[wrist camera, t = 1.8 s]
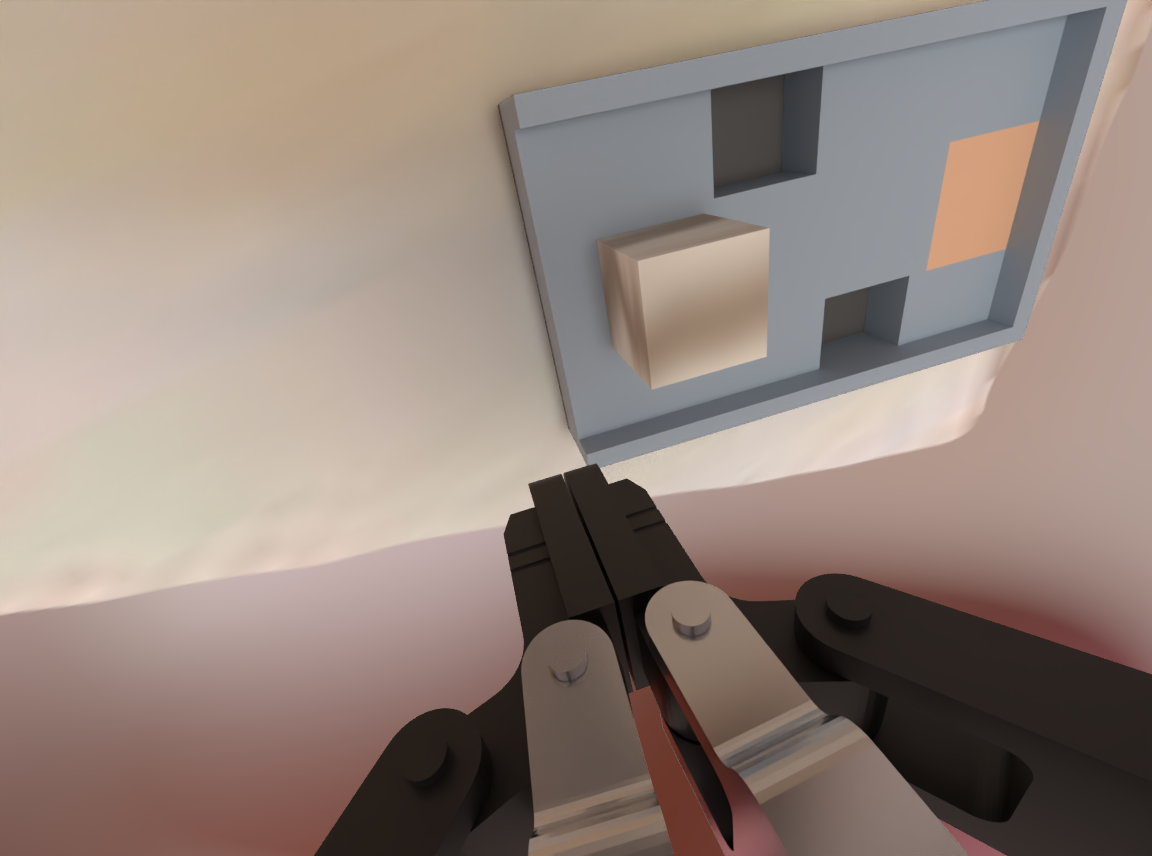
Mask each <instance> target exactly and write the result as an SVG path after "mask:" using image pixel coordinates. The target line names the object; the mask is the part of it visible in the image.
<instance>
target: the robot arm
mask: <svg viewBox="0 0 1152 856" xmlns="http://www.w3.org/2000/svg"><path fill="white" fill-rule="evenodd" d="M564 480H565V481H564ZM528 485H529V488H530V492H531V495H532V499H533V502H534V506H535V507H534V508H531V509H527V510H524V511H521V512H518V513H514V514H511V515H510V517H509V520H508V523H507V526H506V529H505V532H504V539H505V544H506V549H507V554H508V559H509V565H510V570H511V573H512V574H511V575H512V580H513V585H514V590H515V595H516V601H517V606H518V611H519V616H520V621H521V626H522V632H523V638H524V651H523V656H522V659H521V662H520V664H519V667H518V669H517V670H516V672H515V674H514V676H513V677H512V678H511V680H510V681H509V682H508V683H507V684H506V685H505V686H504V688H503V689H502V690H500V691H499V692H498V693H497V694H496V695H494V696H493V697H492V698H490V699H489V700H488V701H487V702H485V703H484V704H482V705H481V706H479V707H478V708H477V709H475V710H474V711H473V712H471V713H470V714H468V715H466V714H465V713H463V712H461V711H459V710H455V709H448V708H442V709H435V710H432V711H429V712H426V713H424V714H422V715H420V716H418V717H416V718H415V719H413V720H412V721H410V722H409V723H408V724H406V725H405V726H404V727H403V728H402V729H401V730H400V731H399V732H398V733H397V734H396V735H395V736H394V738H393V739H392V740H391V742H390V743H389V744H388V746H387V747H386V749H385V750H384V752H383V753H382V755H381V756H380V758H379V759H378V761H377V762H376V764H375V765H374V767H373V768H372V770H371V771H370V773H369V774H368V776H367V777H366V779H365V780H364V782H363V783H362V785H361V786H360V788H359V789H358V791H357V792H356V794H355V795H354V797H353V798H352V800H351V801H350V803H349V804H348V806H347V807H346V809H345V810H344V812H343V813H342V815H341V816H340V818H339V819H338V821H337V822H336V824H335V825H334V827H333V828H332V830H331V831H330V833H329V834H328V836H327V837H326V839H325V840H324V842H323V843H322V845H321V846H320V848H319V849H318V851H317V852H316V854H315V855H314V856H674V854H673V850H672V847H671V843H670V839H669V836H668V832H667V829H666V825H665V822H664V819H663V815H662V812H661V809H660V806H659V803H658V800H657V797H656V795H655V792H654V789H653V786H652V782H651V779H650V775H649V772H648V768H647V765H646V761H645V757H644V754H643V751H642V747H641V744H640V740H639V736H638V733H637V729H636V725H635V721H634V716H633V712H632V707H631V703H630V698H629V693H631V692H633V690H632V684H631V680H630V675H631V677H632V680H633V682H634V685H635V687H636V690H638V689H641V688H644V687H646V686H649V685H650V687H651V690H652V692H653V694H654V697H655V699H656V702H657V704H658V706H659V709H660V714H661V720H662V725H663V729H664V731H665V734H666V736H667V738H668V740H669V742H670V744H671V746H672V748H673V750H674V752H675V754H676V756H677V758H678V760H679V762H680V765H681V767H682V769H683V771H684V772H685V774H686V777H687V779H688V781H689V783H690V785H691V787H692V789H693V791H694V793H695V795H696V797H697V799H698V801H699V803H700V805H701V807H702V809H703V811H704V813H705V815H706V817H707V819H708V821H709V824H710V826H711V827H712V830H713V832H714V834H715V836H716V838H717V840H718V842H719V844H720V846H721V848H722V850H723V852H724V854H725V856H969V855H968V854H967V852H966V851H965V850H964V849H963V848H962V846H961V845H960V844H959V843H958V842H957V841H956V839H955V838H954V837H953V836H952V835H951V833H950V832H949V831H948V830H947V829H946V828H945V826H944V825H943V824H942V823H941V822H940V821H939V819H940V820H942V821H944V822H946V823H948V824H950V825H952V826H953V827H955V828H957V829H959V830H961V831H963V832H964V833H966V834H968V835H970V836H972V837H974V838H975V839H978V840H979V841H981V842H983V843H985V844H987V845H989V846H990V847H992V848H994V849H996V850H998V851H1000V852H1001V853H1004V854H1005V855H1007V856H1152V674H1149V673H1146V672H1143V671H1140V670H1137V669H1134V668H1131V667H1128V666H1125V665H1122V664H1119V663H1116V662H1113V661H1110V660H1107V659H1104V658H1101V657H1098V656H1095V655H1091V654H1089V653H1086V652H1082V651H1080V650H1077V649H1074V648H1070V647H1067V646H1064V645H1061V644H1058V643H1055V642H1052V641H1049V640H1046V639H1043V638H1040V637H1037V636H1034V635H1031V634H1028V633H1025V632H1022V631H1019V630H1016V629H1013V628H1010V627H1007V626H1004V625H1001V624H998V623H995V622H992V621H988V620H986V619H983V618H980V617H977V616H974V615H971V614H968V613H965V612H962V611H959V610H956V609H953V608H950V607H947V606H944V605H941V604H938V603H934V602H931V601H928V600H926V599H922V598H920V597H916V596H913V595H910V594H907V593H904V592H901V591H898V590H895V589H892V588H889V587H886V586H883V585H880V584H877V583H874V582H871V581H868V580H865V579H862V578H858V577H855V576H851V575H846V574H824V575H820V576H817V577H814V578H812V579H810V580H808V581H807V582H805V583H804V584H803V585H802V586H801V587H800V589H799V591H798V592H797V596H796V599H795V600H785V601H784V600H782V601H745V600H739V599H735V598H732V597H729V596H727V595H726V594H725V593H724V592H723V591H721V590H720V589H718V588H716V587H715V586H712V585H710V584H708V583H707V582H706V581H705V580H704V579H703V578H702V576H701V575H700V573H699V572H698V570H697V569H696V567H695V566H694V564H693V563H692V561H691V559H690V558H689V556H688V555H687V553H686V552H685V550H684V549H683V548H682V546H681V544H680V542H679V541H678V539H677V538H676V536H675V535H674V534H673V532H672V530H671V529H670V527H669V525H668V524H667V523H666V522H665V519H664V518H663V516H662V515H661V513H660V512H659V510H657V508H656V505H655V504H654V502H653V501H652V499H651V498H650V496H649V495H648V493H647V491H646V490H645V489H643V488H642V487H640V486H638V485H637V484H635V483H634V482H632V481H630V480H629V479H624V480H621V481H617V482H614V483H611V484H608V483H607V481H606V479H605V477H604V475H603V473H602V472H601V470H600V468H599V466H598V465H597V464H596V463H595V464H592V465H588V466H585V467H582V468H579V469H575V470H572V471H569V472H565V473H564V479H563V477H562V475H561V474H559V475H556V476H552V477H549V478H546V479H543V480H539V481H536V482H533V483H529V484H528ZM628 669H629V670H628ZM629 672H630V675H629ZM938 818H939V819H938Z"/></svg>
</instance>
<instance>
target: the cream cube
mask: <svg viewBox="0 0 1152 856" xmlns="http://www.w3.org/2000/svg"><path fill="white" fill-rule="evenodd" d="M769 238H770V228H768V227H763V226H759V225H754V224H750V223H745V222H741V221H736V220H732V219H727V218H723V217H718V216H714V215H709V214H705V213H703V214H699V215H695V216H691V217H687V218H683V219H679V220H674V221H670V222H666V223H662V224H658V225H654V226H650V227H646V228H641V229H637V230H633V231H629V232H625V233H621V234H617V235H613V236H608V237H604V238H600V239H596V242H597V249H598V255H599V262H600V269H601V275H602V282H603V289H604V295H605V302H606V309H607V315H608V322H609V329H610V335H611V342H612V348H613V349H614V350H615V351H616V352H617V353H618V354H619V355H620V356H621V357H622V358H623V359H624V360H625V362H626V363H627V364H628V365H629V366H630V367H631V368H632V369H633V370H634V371H635V372H636V373H637V374H638V375H639V376H640V378H641V379H642V380H643V381H644V382H645V383H646V384H647V385H648V386H649V387H650V388H651V389H656V388H659V387H663V386H666V385H670V384H673V383H677V382H680V381H684V380H687V379H691V378H694V377H698V376H701V375H705V374H708V373H712V372H715V371H719V370H722V369H725V368H729V367H732V366H736V365H739V364H743V363H746V362H750V361H753V360H757V359H760V358H764V357H767V323H768V280H769Z"/></svg>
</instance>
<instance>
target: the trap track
mask: <svg viewBox="0 0 1152 856" xmlns="http://www.w3.org/2000/svg"><path fill="white" fill-rule="evenodd" d="M1126 3H1127V0H987V1H982V2H977V3H972V4H967V5H962V6H957V7H952V8H947V9H942V10H937V11H932V12H927V13H922V14H917V15H912V16H907V17H902V18H897V19H892V20H887V21H881V22H876V23H871V24H866V25H861V26H856V27H851V28H846V29H841V30H836V31H831V32H826V33H821V34H816V35H811V36H806V37H801V38H796V39H791V40H786V41H781V42H776V43H771V44H766V45H761V46H756V47H751V48H746V49H741V50H736V51H731V52H726V53H721V54H716V55H711V56H706V57H701V58H696V59H691V60H686V61H681V62H676V63H671V64H666V65H661V66H656V67H651V68H646V69H641V70H636V71H630V72H625V73H620V74H615V75H610V76H605V77H600V78H595V79H590V80H585V81H580V82H575V83H570V84H565V85H560V86H555V87H550V88H545V89H540V90H535V91H530V92H525V93H520V94H515V95H512V96H511V97H510V98H508V99H507V100H505V101H504V102H502V103H501V104H499V105H498V108H499V113H500V117H501V122H502V126H503V131H504V135H505V140H506V145H507V149H508V154H509V158H510V163H511V167H512V172H513V177H514V181H515V186H516V190H517V195H518V199H519V204H520V209H521V213H522V218H523V222H524V227H525V231H526V236H527V241H528V245H529V250H530V254H531V259H532V263H533V268H534V273H535V277H536V282H537V286H538V291H539V295H540V300H541V305H542V309H543V314H544V318H545V323H546V327H547V332H548V336H549V341H550V346H551V350H552V355H553V359H554V364H555V368H556V373H557V378H558V382H559V387H560V391H561V396H562V400H563V405H564V410H565V414H566V419H567V423H568V428H569V430H570V432H571V434H572V436H573V438H574V440H575V442H576V444H577V446H578V448H579V450H580V452H581V454H582V456H583V458H584V460H585V462H586V464H587V466H588V465H592V464H595V463H596V464H597V465H598V466H599V468H601V467H604V466H607V465H611V464H614V463H617V462H620V461H624V460H627V459H630V458H634V457H637V456H640V455H643V454H647V453H650V452H653V451H657V450H660V449H663V448H667V447H670V446H673V445H676V444H680V443H683V442H686V441H690V440H693V439H696V438H699V437H703V436H706V435H709V434H713V433H716V432H719V431H722V430H726V429H729V428H732V427H736V426H739V425H742V424H745V423H749V422H752V421H755V420H759V419H762V418H765V417H769V416H772V415H775V414H778V413H782V412H785V411H788V410H792V409H795V408H798V407H801V406H805V405H808V404H811V403H815V402H818V401H821V400H824V399H828V398H831V397H834V396H838V395H841V394H844V393H847V392H851V391H854V390H857V389H861V388H864V387H867V386H870V385H874V384H877V383H880V382H884V381H887V380H890V379H894V378H897V377H900V376H903V375H907V374H910V373H913V372H917V371H920V370H923V369H926V368H930V367H933V366H936V365H940V364H943V363H946V362H949V361H953V360H956V359H959V358H963V357H966V356H969V355H972V354H976V353H979V352H982V351H986V350H989V349H992V348H995V347H999V346H1002V345H1005V344H1009V343H1012V342H1015V341H1019V340H1021V339H1023V337H1024V334H1025V330H1026V327H1027V324H1028V321H1029V318H1030V314H1031V311H1032V308H1033V305H1034V302H1035V298H1036V295H1037V292H1038V289H1039V285H1040V282H1041V279H1042V276H1043V272H1044V269H1045V266H1046V263H1047V259H1048V256H1049V253H1050V250H1051V246H1052V243H1053V240H1054V237H1055V233H1056V230H1057V227H1058V224H1059V220H1060V217H1061V214H1062V211H1063V207H1064V204H1065V201H1066V198H1067V194H1068V191H1069V188H1070V185H1071V181H1072V178H1073V175H1074V172H1075V168H1076V165H1077V162H1078V159H1079V156H1080V152H1081V149H1082V146H1083V143H1084V139H1085V136H1086V133H1087V130H1088V126H1089V123H1090V120H1091V117H1092V113H1093V110H1094V107H1095V104H1096V100H1097V97H1098V94H1099V91H1100V87H1101V84H1102V81H1103V78H1104V74H1105V71H1106V68H1107V65H1108V61H1109V58H1110V55H1111V52H1112V48H1113V45H1114V42H1115V39H1116V35H1117V32H1118V29H1119V26H1120V22H1121V19H1122V16H1123V13H1124V10H1125V6H1126ZM703 213H705V214H709V215H714V216H718V217H723V218H727V219H732V220H736V221H741V222H745V223H750V224H754V225H759V226H763V227H768V228H770V238H769V280H768V323H767V357H764V358H760V359H757V360H753V361H750V362H746V363H743V364H739V365H736V366H732V367H729V368H725V369H722V370H719V371H715V372H712V373H708V374H705V375H701V376H698V377H694V378H691V379H687V380H684V381H680V382H677V383H673V384H670V385H666V386H663V387H659V388H656V389H651V388H650V387H649V386H648V385H647V384H646V383H645V382H644V381H643V380H642V379H641V378H640V376H639V375H638V374H637V373H636V372H635V371H634V370H633V369H632V368H631V367H630V366H629V365H628V364H627V363H626V362H625V360H624V359H623V358H622V357H621V356H620V355H619V354H618V353H617V352H616V351H615V350H614V349H613V348H612V342H611V335H610V329H609V322H608V315H607V309H606V302H605V295H604V289H603V282H602V275H601V269H600V262H599V255H598V249H597V242H596V239H600V238H604V237H608V236H613V235H617V234H621V233H625V232H629V231H633V230H637V229H641V228H646V227H650V226H654V225H658V224H662V223H666V222H670V221H674V220H679V219H683V218H687V217H691V216H695V215H699V214H703Z"/></svg>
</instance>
